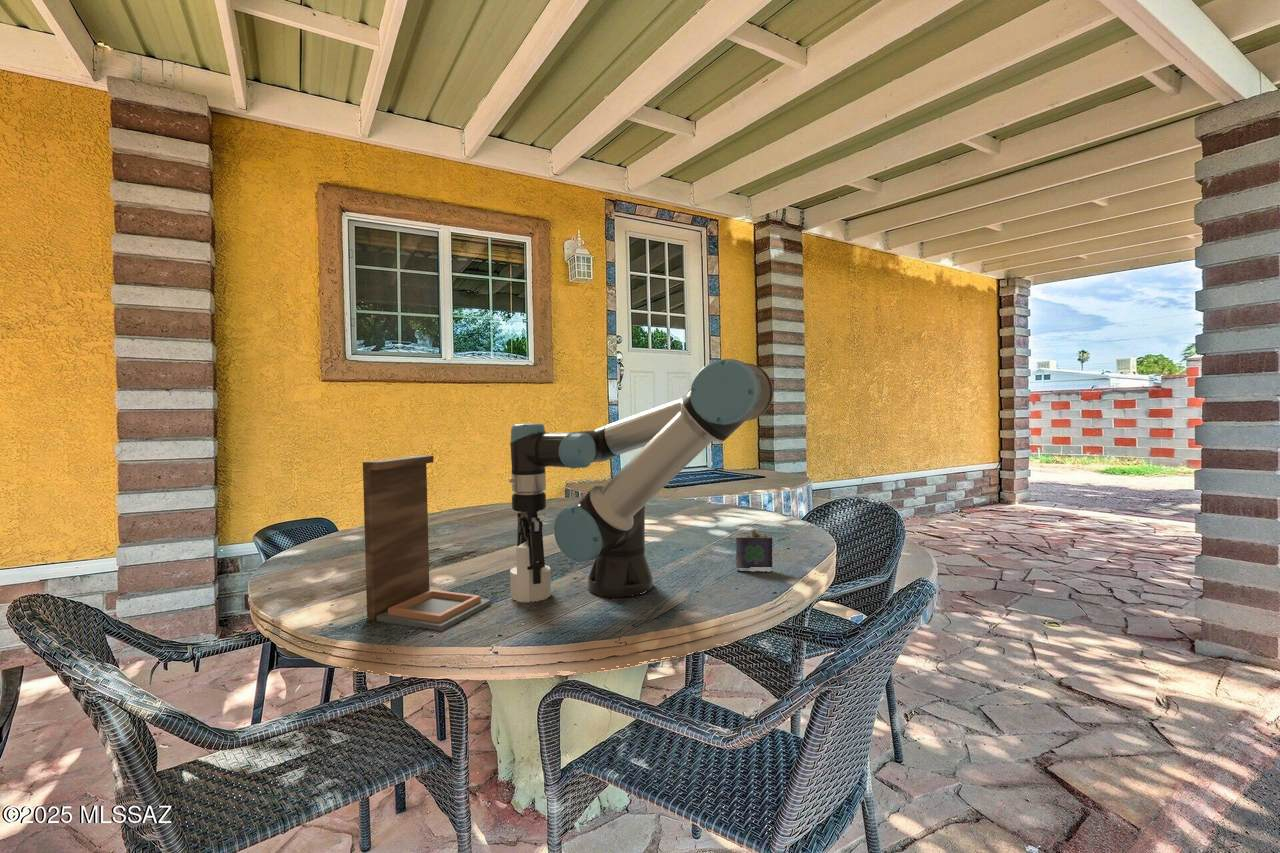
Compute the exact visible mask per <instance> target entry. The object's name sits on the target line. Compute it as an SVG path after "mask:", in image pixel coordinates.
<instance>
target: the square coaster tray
mask: <svg viewBox="0 0 1280 853" xmlns="http://www.w3.org/2000/svg"><path fill="white" fill-rule="evenodd" d="M429 590H430V591H428V592H425V593H423V594H421V595H418V596H416V597H414V598H411V599H409V600H407V601H404V602H402V603H400V604H397V605H395V606H393V607H390V608H388V611H387V612H385V613H382V614H380V615H378V616H377V620H376V622H380V623H381V622H382V623H387V624H395V625H401V626H406V625H407V626H408V627H412V626H415V627H414V628H419V627H422V628H421V629H425V628H428V629H427V630H431V629H434V630H433V631H437V632H442V631H444V630H447V629H448V628H449V627H451V626H454V625H456V624H457V623H459V622H461V621H463V620H465V619H467V618H468V617H470V616H472V615H474V614H475V613H476V614H477V613H478V612H480V611H481V610H483V609H486V607H489V606H491V605H492V601H491V599H487V598H481V597H482V595H477V594H470V593H461V592H454V591H453V592H452V591H447V590H440V589H439V590H437V589H429ZM407 626H406V627H407Z"/></svg>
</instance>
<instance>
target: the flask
mask: <svg viewBox="0 0 1280 853" xmlns="http://www.w3.org/2000/svg"><path fill="white" fill-rule="evenodd" d="M756 531H757V528H754V529H750V535H737V536H735V568H736V567H737V568H750V567H772V568H773V537H772V536H770V535H766V534H764V533H763V534H762V533H761V534H760V533H758V532H756Z"/></svg>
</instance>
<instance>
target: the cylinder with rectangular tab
mask: <svg viewBox="0 0 1280 853" xmlns="http://www.w3.org/2000/svg"><path fill="white" fill-rule="evenodd" d="M515 549H516V550H515V551H516V566H515V567H512V568H510V570H509V577H510V578H509V581H510V584H509V585H510V587H509V588H510V599H511V598H512V599H513V600H512V599H511V600H512V601H514V600H516V601H515V602H518V601H523V602H522V603H535V601H536V602H540V600H541V601H544V600H547V599H548V597H549V598H550V597H551V595H552V586H551V585H552V583H551V582H552V581H551V579H552V578H551V576H552V575H551V566H549V565H546V564H545V567H542V597H540V598H533V599H530V598H529V570H527V567H528V566H530V560H529V547H528V544H527V541H526V542H524V543H522V544H521V545H519V546H518V547H517V546H516V548H515ZM530 601H532V602H530ZM533 601H534V602H533Z"/></svg>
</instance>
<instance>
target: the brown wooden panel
mask: <svg viewBox="0 0 1280 853" xmlns="http://www.w3.org/2000/svg"><path fill="white" fill-rule="evenodd" d="M432 463H434V455H422V454H421V455H419V454H418V455H412V456H402V457H393V458H386V459H385V458H384V459H379V460H378V459H377V460H375V459H374V460H368V461H362V482H363V483H362V484H363V490H362V491H363V516H364V517H363V518H364V520H363V521H364V554H365V556H364V558H365V559H364V560H365V585H366V587H365V591H366V620H368V621H377V616H378V615H380V614H382V613H385V612H387V611H388V608H390V607H393V606H395V605H397V604H400V603H402V602H404V601H407V600H409V599H411V598H414V597H416V596H418V595H421V594H423V593H425V592H428V591H430V590H431V589H430V557H429V556H430V555H429V551H430V550H429V520H428V517H429V515H428V508H429V507H428V475H427V474H428V472H427V471H428V470H427V468H428V466H427V464H432Z"/></svg>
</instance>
